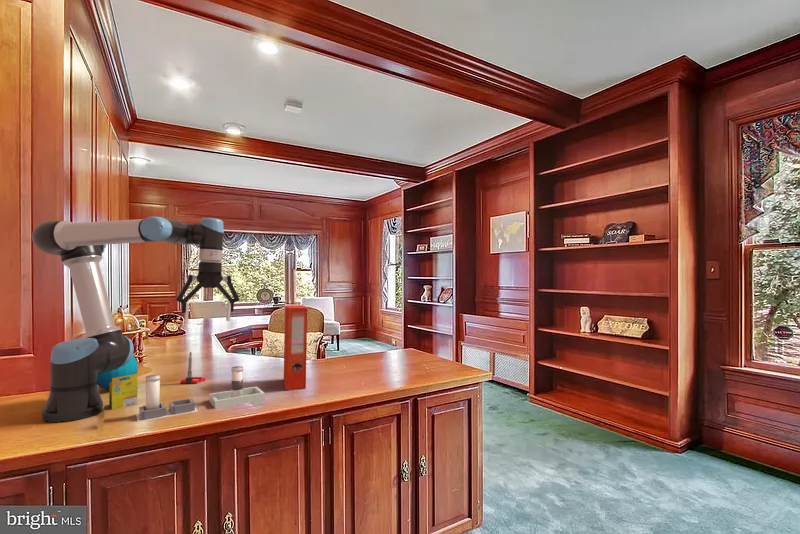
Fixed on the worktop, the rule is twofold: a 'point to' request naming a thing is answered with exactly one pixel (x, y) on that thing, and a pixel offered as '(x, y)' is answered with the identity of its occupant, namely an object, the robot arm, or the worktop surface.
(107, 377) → the decorative orb
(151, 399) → the cylinder
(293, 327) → the file binder
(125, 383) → the crayon box
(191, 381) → the tow hook
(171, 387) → the worktop surface
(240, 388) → the cylinder
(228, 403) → the parts tray
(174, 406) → the block
